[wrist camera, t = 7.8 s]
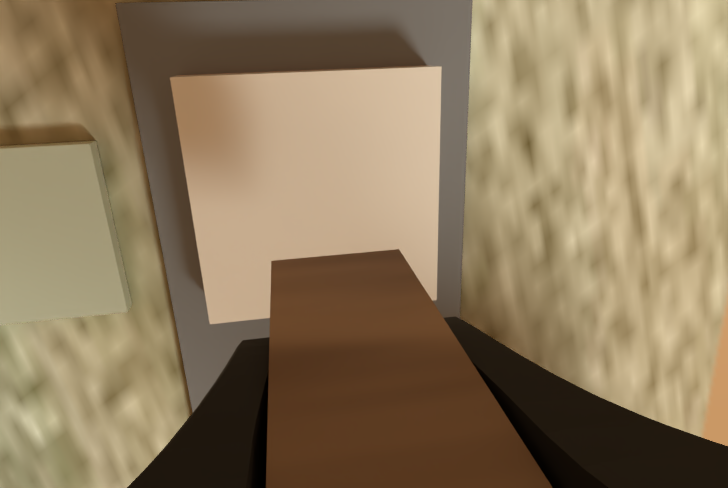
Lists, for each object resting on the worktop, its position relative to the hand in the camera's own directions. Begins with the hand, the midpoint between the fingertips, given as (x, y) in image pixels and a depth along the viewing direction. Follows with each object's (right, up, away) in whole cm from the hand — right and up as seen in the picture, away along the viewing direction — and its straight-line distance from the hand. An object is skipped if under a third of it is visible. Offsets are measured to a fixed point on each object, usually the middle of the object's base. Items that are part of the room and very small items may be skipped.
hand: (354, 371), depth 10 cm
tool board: (-11, +3, +7) cm, 14 cm away
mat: (-2, +3, +9) cm, 9 cm away
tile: (-1, 0, +8) cm, 9 cm away
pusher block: (0, +1, +2) cm, 2 cm away
